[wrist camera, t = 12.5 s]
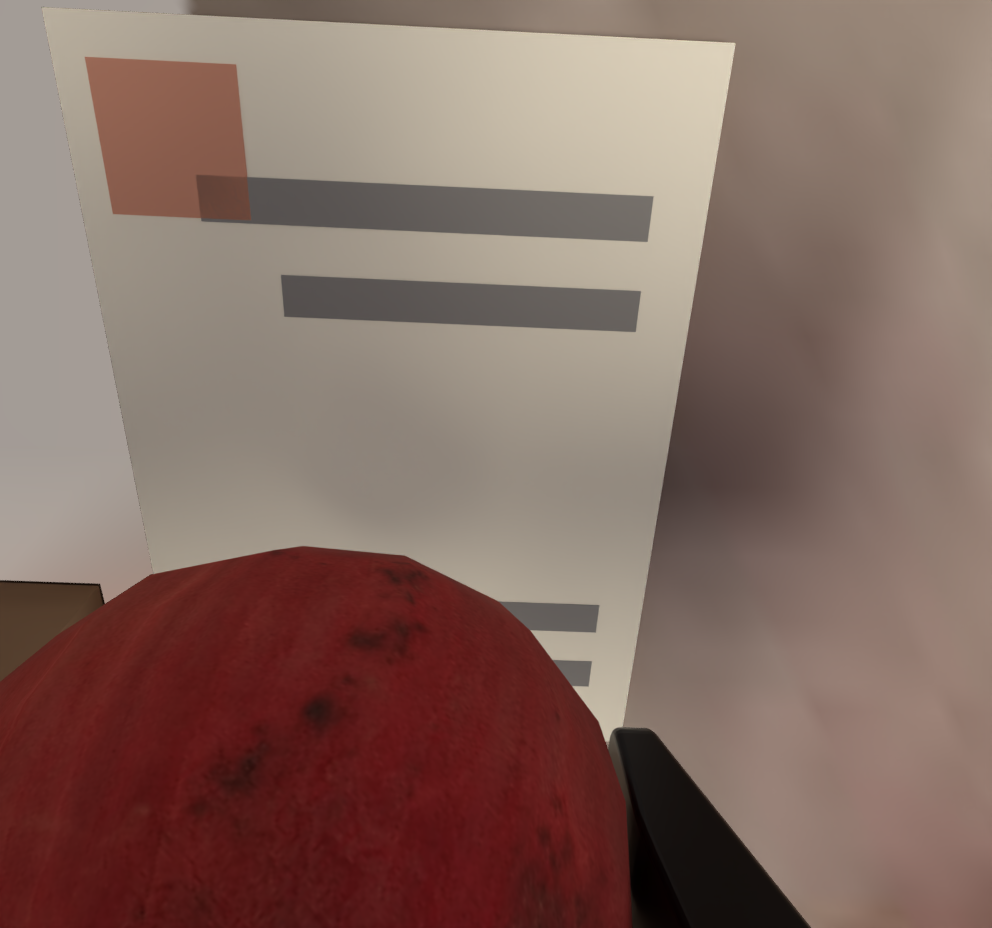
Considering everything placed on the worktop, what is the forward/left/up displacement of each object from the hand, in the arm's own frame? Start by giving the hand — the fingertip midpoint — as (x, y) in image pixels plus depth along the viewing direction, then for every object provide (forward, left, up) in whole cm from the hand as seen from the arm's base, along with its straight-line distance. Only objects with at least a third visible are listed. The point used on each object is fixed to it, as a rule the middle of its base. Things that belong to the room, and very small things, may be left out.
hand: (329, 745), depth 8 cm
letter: (0, 0, -7) cm, 7 cm away
